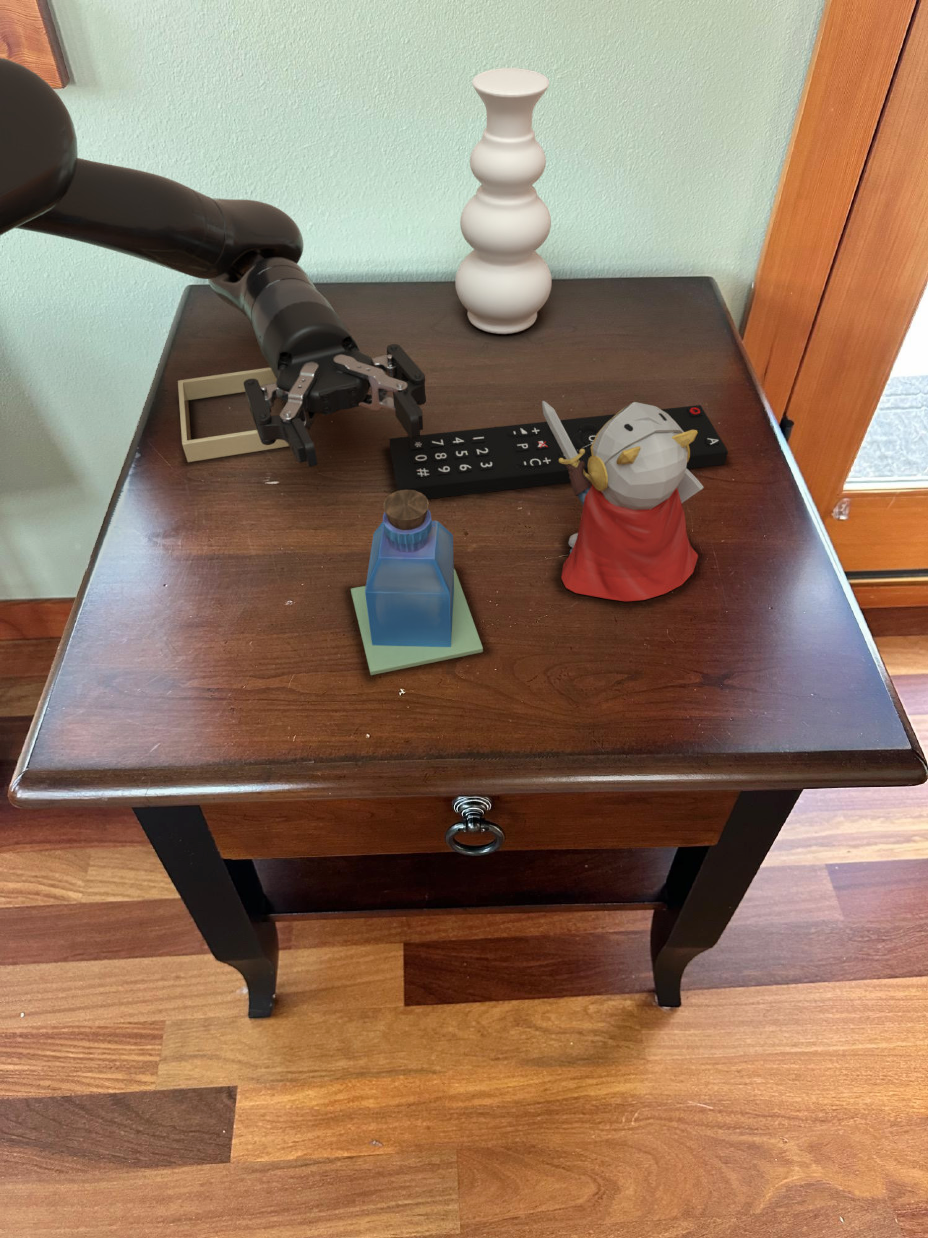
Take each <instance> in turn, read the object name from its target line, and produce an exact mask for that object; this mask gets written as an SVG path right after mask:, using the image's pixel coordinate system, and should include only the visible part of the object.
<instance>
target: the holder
mask: <svg viewBox="0 0 928 1238" xmlns="http://www.w3.org/2000/svg"><path fill="white" fill-rule="evenodd" d="M247 379H257V380H258V382H259V385H260V386H262V385H267V384H272V383H276V380H277V379H276V377H275V375H274V373H273V371H272V370H271V368H270V366H269V367H264V368H256V369H249V370H242V371H241V370H240V371H236V372H229V373H222V374H214V375H208V376H201V377H194V378H187V379H186V378H185V379H180V380H178V381H177V389H178V401H179V402H178V403H179V405H178V406H179V419H180V431H181V432H180V433H181V434H180V435H181V446H182V448H183V449H182V450H183V452H184V455H185V459H186V461H187V463H193V462H199V461H205V460H211V459H217V458H224V457H229V456H235V455H242V454H249V453H256V452H260V451H268V450H273V449H280V448H287V447H289V445H288V443H286V442H285V440H281V439H277V440H276V442H275V443H273V444H271V445H264V444H262V443H261V440H260V437H259V434H258V432H257V429H252V430H245V431H240V432H233V433H227V434H221V435H220V434H219V435H213V436H207V437H201V438H195V439H192V433H191V419H190V407H189V406H190V405H189V401H192V400H198V399H206V398H212V397H219V396H225V395H226V396H227V395H233V394H240V393H246V392H245V388H244V381H246V380H247Z"/></svg>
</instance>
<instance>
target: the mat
mask: <svg viewBox="0 0 928 1238" xmlns="http://www.w3.org/2000/svg"><path fill="white" fill-rule="evenodd" d="M457 573H458V572H457V571H456V569H455V568H454V599H453V617H452V635H451V647H423V646H380V645H372V640H371V633H370V626H369V618H368V611H367V604H366V596H365V588H366V585H362V586H357V587H352V588H350V594H351V598H352V602H353V607H354V611H355V615H356V619H357V623H358V628H359V632H360V637H361V640H362V641H361V642H362V644H363V645H362V646H363V649H364V653H365V657H366V662H367V667H368V670H369V674H370V676H374V675H380V674H386V673H389V672H394V671H398V670H404V669H408V668H413V667H418V666H423V665H428V664H432V663H436V662H443V661H446V660H452V659H457V658H461V657H466V656H472V655H476V654H480V653H483V652H484V648H483V645H482V642H481V639H480V636H479V633H478V630H477V627H476V625H475V622H474V619H473V616H472V613H471V610H470V607H469V605H468V602H467V599H466V596H465V593H464V590H463V588H462V585H461V582H460V580H459V576H458V574H457Z"/></svg>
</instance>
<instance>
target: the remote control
mask: <svg viewBox="0 0 928 1238" xmlns="http://www.w3.org/2000/svg"><path fill="white" fill-rule="evenodd" d="M660 409H661V410H662V411H664V412H666V413H667V414H668V415H669V416H670V417H671V418H672V419H673V420H674V421H675V422H676V423H677V424H678V425H679V427H680V428H681V429H682V430H683V432H687V431H690V430H697V432H698V433H697V435H696V437H695V439H694V441H693V442H691V443H690V444H689V448H690V458H689V461H688V462H687V466H686V468H687V469H688V470H691V469H699V468H708V467H715V466H724V465H725V463H726V460H727V457H728V453H729V450H728V449H727V446H725V444H724V442H723V440H722V438H721V436H720V435H719V434H718V432H717V430H716V428H715V426H713V423H712V422H711V420H710V418H709V417H708V415H707V414H706V412H705V411H704V409H703V407H702V405H701V404H697V405H687V406H679V407H671V408H660ZM616 414H617V413H612V414H604V415H595V416H585V417H577V418H576V417H575V418H568V419H567V418H565V419H560V421H561V423H562V425H563V427H564V429H565V431H566V433H567V435H568V437H569V439H570V441H571V443H572V444H573V446H574V448H575V450H576V452H577V454H579V453H580V452H579V451H580V449H584V450H585V453H584V454H583V455H582V456H581V457H580V458H579V461H581V460H582V461H584V463H585V468H584V470H585V472H586V473H587V474H589V473H588V460H589V458H590V457H591V456H592V453H591V446H592V443H593V441H594V439H595V437H596V435H597V433H598V432H599V431H600V430H601V429H602V427H603V426H604V425H605V424H606V423H607V422H608V421H609V420H610V419H611V418H613V417H614V416H615V415H616ZM388 440H389V441H388V442H389V452H390V458H391V463H392V469H393V474H394V479H395V480H394V481H395V484H396V492H397V491H400V490H415V491H417V492H420V493H422V494H423V495H424V496H425V497H426V498H427V500H431V499H440V498H449V497H458V496H465V495H466V496H467V495H475V494H484V493H492V492H500V491H507V490H509V491H510V490H517V489H526V488H534V487H535V488H536V487H545V486H553V485H560V484H561V485H562V484H569V483H570V484H571V479H570V478H569V477H570V475H569V473H568V471H569V470H568V469H567V467H566V465H567V464H561V463H559V459H560V458H563V459H566V457H565V455H564V453H563V452H562V450H561V448H560V446H559V444H558V442H557V440H556V438H555V436H554V434H553V432H552V430H551V428H550V427H549V425H548V423H547V421H539V422H529V423H520V424H510V425H501V426H492V427H483V428H475V429H474V428H473V429H463V430H454V431H446V432H444V431H443V432H436V433H427V434H426V433H425V434H420V437H418V438H414V439H410V437H409V436H408V435H407V436H399V437H398V436H397V437H390V438H389V439H388ZM590 444H591V445H590ZM587 445H588V446H587ZM585 446H586V447H585ZM583 447H584V448H583ZM590 453H591V454H590ZM589 454H590V455H589ZM586 456H587V457H586ZM585 457H586V458H585Z"/></svg>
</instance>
